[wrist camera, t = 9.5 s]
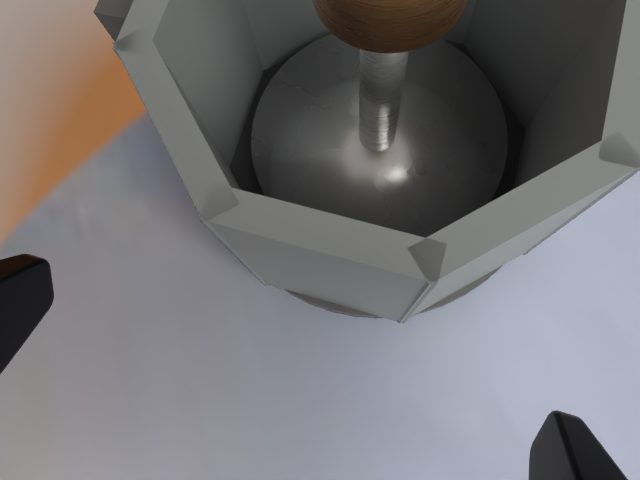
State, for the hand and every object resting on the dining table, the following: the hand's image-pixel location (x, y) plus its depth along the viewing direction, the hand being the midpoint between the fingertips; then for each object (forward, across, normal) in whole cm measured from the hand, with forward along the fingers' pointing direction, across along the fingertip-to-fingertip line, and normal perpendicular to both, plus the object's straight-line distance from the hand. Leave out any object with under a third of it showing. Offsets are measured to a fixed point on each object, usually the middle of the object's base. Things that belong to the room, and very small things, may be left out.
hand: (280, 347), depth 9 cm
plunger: (+11, 0, 0) cm, 11 cm away
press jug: (+11, 0, +1) cm, 11 cm away
